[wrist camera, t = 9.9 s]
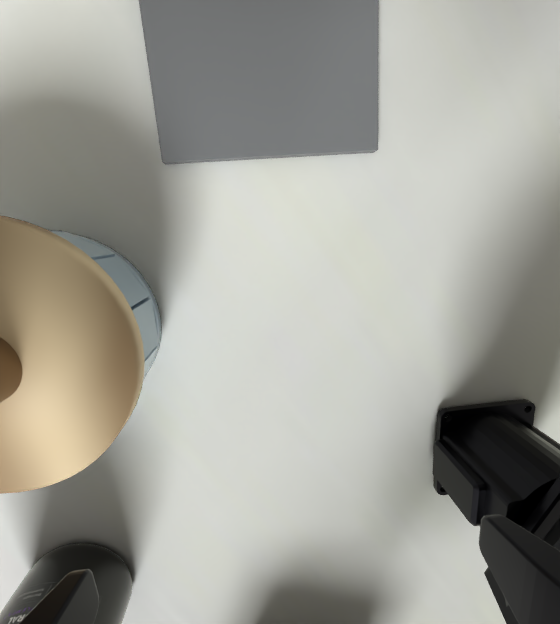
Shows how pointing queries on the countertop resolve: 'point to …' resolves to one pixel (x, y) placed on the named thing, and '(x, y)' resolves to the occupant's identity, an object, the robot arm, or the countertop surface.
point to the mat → (262, 77)
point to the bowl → (126, 291)
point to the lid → (60, 358)
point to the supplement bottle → (63, 560)
